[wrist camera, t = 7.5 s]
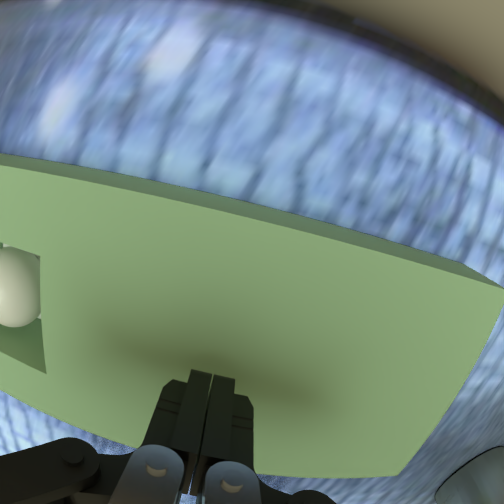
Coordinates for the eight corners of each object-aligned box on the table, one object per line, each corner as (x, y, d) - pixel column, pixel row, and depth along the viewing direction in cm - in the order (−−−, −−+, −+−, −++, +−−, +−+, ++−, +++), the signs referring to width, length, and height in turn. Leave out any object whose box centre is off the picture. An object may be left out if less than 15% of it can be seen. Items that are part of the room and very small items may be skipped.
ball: (-31, 264, 9) (-20, 235, 12) (-19, 344, 10) (-15, 304, 13) (51, 263, 12) (46, 236, 15) (54, 341, 13) (46, 302, 16)
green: (463, 264, 15) (508, 291, 11) (379, 431, 18) (397, 475, 14) (-22, 150, 13) (-69, 154, 9) (-19, 328, 16) (-52, 355, 12)
